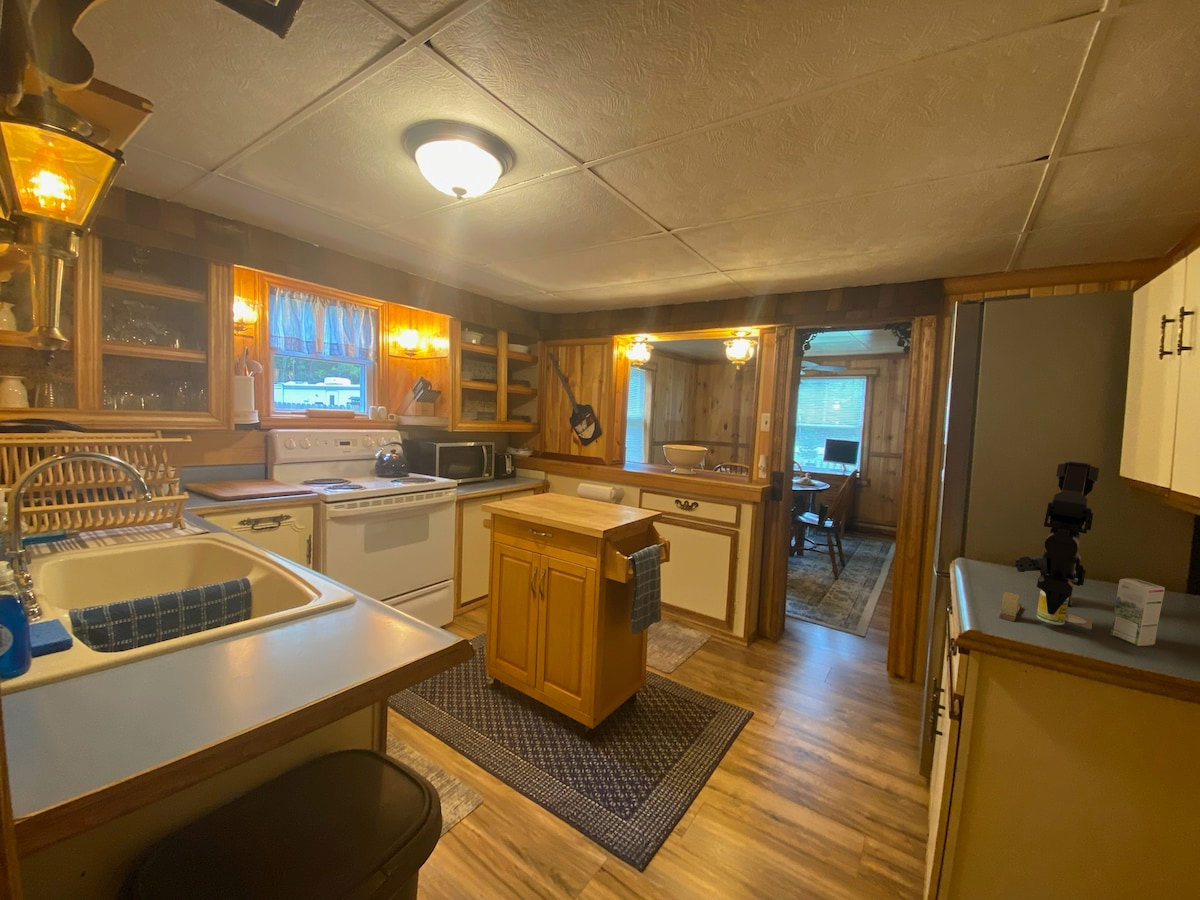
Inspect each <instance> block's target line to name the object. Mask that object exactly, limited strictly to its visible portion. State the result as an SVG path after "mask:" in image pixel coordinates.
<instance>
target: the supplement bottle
mask: <svg viewBox="0 0 1200 900" xmlns="http://www.w3.org/2000/svg"><path fill="white" fill-rule="evenodd" d="M1068 601H1069V597H1068V598H1067V600H1066V601H1065V602H1064V603H1063V604H1062V605H1061V607H1060V608H1059V609H1058V610H1057V611H1056V613H1055V614H1054V615H1052V614H1049V613H1048V610H1047V602H1046V594H1045V592H1044V591H1043V590H1042V589H1041V590H1040V592H1039V597H1038V604H1037V608H1036V609H1037V610H1036V618H1037V619H1038V620H1040V621H1044V622H1043V623H1045V622H1047V623H1046V624H1048V623H1051V624H1050V625H1052V624H1055V625H1054V626H1056V625H1063V624H1064V623H1065V618H1066V612H1067V611H1068V607H1069V606H1068ZM1067 613H1068V612H1067Z"/></svg>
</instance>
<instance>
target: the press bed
mask: <svg viewBox="0 0 1200 900" xmlns="http://www.w3.org/2000/svg"><path fill="white" fill-rule="evenodd" d="M1041 621H1042V620H1041ZM1042 623H1045V624H1048V623H1047V622H1044V621H1042ZM1049 624H1050V625H1053V626H1055V627H1058V628H1059V627H1060V628H1063V629H1068V630H1072V631H1075V632H1079V633H1082V634H1085V635H1088V636H1089V635H1090V636H1091V635H1092V628H1093V618H1090V617H1087V616H1082V615H1078V614H1074V613H1071V612H1066V618H1065V623H1064V624H1063V625H1055V624H1051V623H1049Z"/></svg>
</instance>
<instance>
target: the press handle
mask: <svg viewBox="0 0 1200 900" xmlns="http://www.w3.org/2000/svg"><path fill="white" fill-rule="evenodd" d="M1020 596H1021V595H1019V594H1016V593H1011V592H1009V591H1004V592H1003V595H1002V600H1001V601H1002V602H1001V606H1000V613H1003V614H1006V615H1010V616H1014V617H1015V616H1016V614H1017V609H1018V603H1019V602H1020Z"/></svg>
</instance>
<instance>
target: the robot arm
mask: <svg viewBox="0 0 1200 900" xmlns="http://www.w3.org/2000/svg"><path fill="white" fill-rule="evenodd" d="M1055 473H1056V474H1055V479H1056V480H1058V485H1057V486H1058V489H1060V492H1058V493H1055V494H1053V498H1052V502H1051V501H1049V502H1048V503H1047V508H1046V513H1045V518H1044V523H1043V527H1046V528H1049V531H1048V534H1047V535H1048V536H1047V537H1046V539H1045V541H1044V548H1045V550H1044V551H1043V554H1040V555H1039V554H1037V555H1036V554H1035V555H1020V556H1015V557H1014V559H1013V561H1014V566H1015V567H1016V571H1017V572H1018V573H1025V572H1031V571H1032V572H1033V571H1034V572H1035V571H1037V572H1038V571H1039V573H1040V576H1038V578H1037V582H1036V588H1038V589H1039V590H1040V589H1041V590H1043V591H1044V592H1045V594H1046V602H1047V610H1048V613H1049V614H1052V615H1054V614H1055V613H1056V611H1057V610H1058V609H1059V608H1060V607H1061V605H1062V604H1063V603H1064V602H1065V601H1066V600H1067V598H1068V597H1069V601H1068V606H1067V607H1072V605H1073V599H1072V594H1073V589H1074V585H1075V586H1079V587H1080V586H1084V582H1085V576H1086V569H1085V568H1084V564H1081V560H1082V559H1081V558H1082V557H1081V555H1080V553H1079V546H1080V541H1081V533H1082V534H1087V531H1091V530H1092V523H1093V517H1094V512H1093V511H1092V508H1091V507H1088V503H1089V499H1088V498H1087V497H1086V496H1087V495H1089V494H1090V493H1091V492H1092V491H1093V489H1094V484H1095V485H1097V484H1098V481H1099V474H1100V468H1099V467H1095V466H1092V464H1090V463H1088V462H1079V461H1065V462H1064V463H1058V464H1057V468H1056V472H1055ZM1083 526H1084V527H1083Z"/></svg>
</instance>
